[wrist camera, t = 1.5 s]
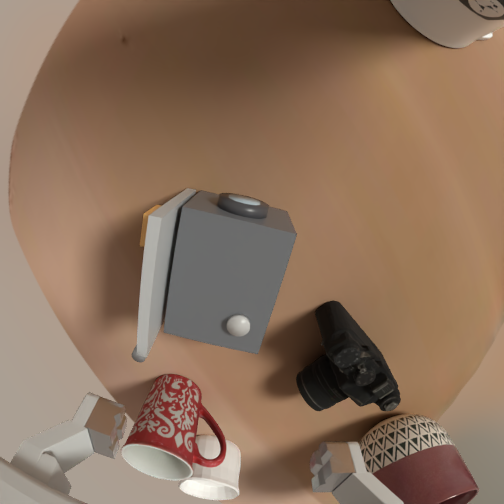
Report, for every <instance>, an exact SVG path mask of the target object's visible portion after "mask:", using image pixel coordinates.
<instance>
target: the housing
mask: <svg viewBox="0 0 504 504" xmlns="http://www.w3.org/2000/svg"><path fill="white" fill-rule="evenodd" d="M296 235H297V233H296V231H295V229H294V226H293V224H292V222H291V219H290V217H289V215H288V212H287V211H284V210H280V209H276V208H272V207H269V205H268V204H266V203H264V202H262V201H260V200H257V199H255V198H251V197H248V196H244V195H239V194H233V193H221V194H215V193H210V192H206V191H200V192H199V193H197V194H196V195H195V196H194V197H193V198H192V199H191V200H189V201H188V202H187V203H186V204H185V205H184V206H183V207H182V212H181V217H180V223H179V228H178V234H177V240H176V246H175V252H174V258H173V265H172V271H171V278H170V285H169V293H168V300H167V308H166V316H165V325H164V332H165V333H168V334H172V335H176V336H180V337H183V338H187V339H191V340H195V341H200V342H204V343H208V344H212V345H217V346H221V347H226V348H230V349H235V350H240V351H245V352H250V353H255V354H258V352H259V349H260V346H261V343H262V340H263V337H264V334H265V331H266V328H267V325H268V323H269V320H270V317H271V314H272V311H273V308H274V305H275V302H276V298H277V295H278V292H279V289H280V286H281V283H282V280H283V277H284V274H285V271H286V267H287V264H288V261H289V258H290V255H291V252H292V248H293V245H294V242H295V239H296Z"/></svg>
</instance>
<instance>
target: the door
mask: <svg viewBox="0 0 504 504" xmlns="http://www.w3.org/2000/svg"><path fill="white" fill-rule="evenodd" d="M195 193H196V190H194V189H190V188H187V189H185V190H184V191H182V192H181V193H180V194H178V195H177V196H175V197H174V198H172V199H171V200H169V201H168V202H167V203H165V204H164V205H162V206H160V205H156V206H154V207H153V208H151V209H150V210H148V211H147V212H145V213H144V215H143V222H142V230H141V238H140V246H142V247H144V256H143V265H142V275H141V286H140V298H139V313H138V331H137V345H136V347H135V349H134V351H133V353H132V358H133V359H134V360H135V361H137V362H144V360H145V358H147V356H148V354H149V352H150V349H151V347H152V345H153V343H154V341H155V339H156V337H157V334H158V332H159V330H160V328H161V326H162V324H163V322H164V320H165V316H166V308H167V300H168V293H169V285H170V278H171V271H172V265H173V258H174V252H175V246H176V240H177V234H178V228H179V223H180V217H181V212H182V207H183V206H184V205H185V204H186V203H187V202H188V201H189V200H191V199H192V198H193V197H194V196H195Z"/></svg>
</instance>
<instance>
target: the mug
mask: <svg viewBox="0 0 504 504" xmlns="http://www.w3.org/2000/svg"><path fill="white" fill-rule="evenodd" d="M201 397H202V396H201V391H200V389H199V387H198V386H197V385H196V384H195V383H194V382H192V381H191V380H189V379H188V378H185V377H183V376H180V375H175V374H167V375H162V376H160V377H158V378H157V379H156V381H155V382H154V384H153V386H152V388H151V390H150V392H149V395H148V397H147V399H146V401H145V403H144V405H143V407H142V409H141V411H140V414H139V416H138V418H137V420H136V422H135V424H134V426H133V428H132V430H131V433H130V435H129V437H128V439H127V441H126V443H125V445H124V446H123V447H122V449H121V455H122V457H123V458H124V459H125V461H126V462H127V463H128V464H130V465H131V466H132V467H134V468H135V469H137V470H139V471H141V472H143V473H145V474H147V475H150V476H153V477H156V478H160V479H165V480H185V479H188V478H190V477H191V476H192V475H193V467H192V465H193V463H197V464H199V465H201V466H204V467H209V468H212V467H216V466H219V465H220V464H221V463H222V462H223V461H224V459H225V456H226V440H225V437H224V435H223V433H222V431H221V429H220V427H219V426H218V424H217V423H216V421H215V420H214V419H213V417H212V416H211V415H210V414H209V412H208V411H207V410H206V408H205V407H204V406H203V405H202V403H201ZM198 417H201V418H203V419H204V420H205V421H206V422H207V424H208V425H209V426H210V427H211V429H212V430H213V432H214V433H215V435H216V437H217V439H218V441H219V443H220V454H219V456H218V457H216V458H215V459H206V458H204V457H203V456H201V454H200V453H199V450H198V446H197V443H195V441H196V433H197V425H198Z"/></svg>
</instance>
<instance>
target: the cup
mask: <svg viewBox="0 0 504 504" xmlns="http://www.w3.org/2000/svg"><path fill="white" fill-rule="evenodd" d="M225 440H226V439H225ZM195 443H197V446H198V450H199V453H200V454H201V456H203V457H204V458H206V459H215V458H216V457H218V456H219V454H220V443H219V441H218V439H217V437H216V436H212V435H199V436H196V441H195ZM192 467H193V475H192V476H191V477H190V478H188V479H185V480H180V482H179V488H180V489H181V490H182V491H183V492H185V493H187V494H190V495H192V496H195V497H200V498H204V499H211V500H228V499H234V498H235V497H237V496H238V495H239V488H238V479H239V473H240V467H241V453H240V449H239V448H238V447H237V446H236V444H234V443H233V442H231V441H229V440H226V456H225V459H224V461H223V462H222V463H221V464H220V465H219V466H216V467H212V468H209V467H204V466H201V465H199V464H197V463H193V465H192Z"/></svg>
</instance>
